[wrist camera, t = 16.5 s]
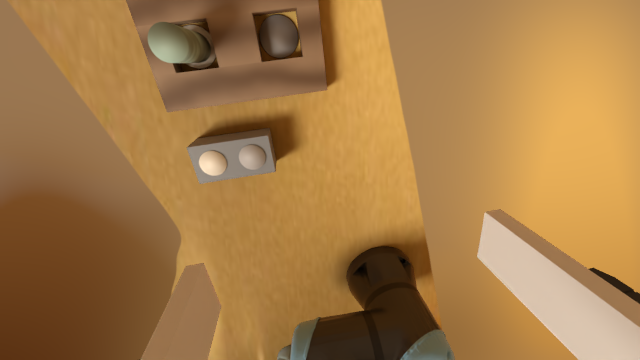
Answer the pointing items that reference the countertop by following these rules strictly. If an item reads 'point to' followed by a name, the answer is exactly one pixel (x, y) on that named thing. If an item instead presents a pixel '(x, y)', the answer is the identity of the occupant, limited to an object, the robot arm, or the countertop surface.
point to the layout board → (236, 50)
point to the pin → (178, 44)
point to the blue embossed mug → (285, 353)
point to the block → (233, 155)
